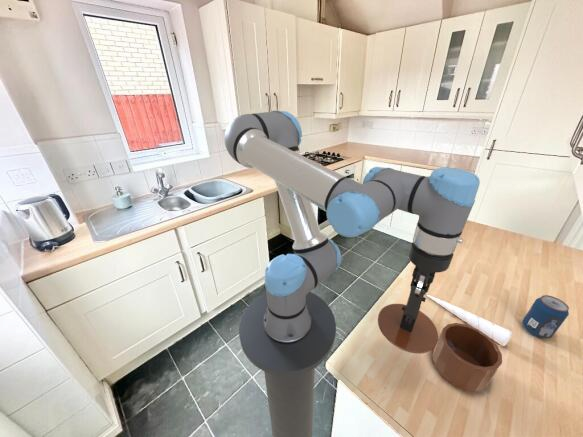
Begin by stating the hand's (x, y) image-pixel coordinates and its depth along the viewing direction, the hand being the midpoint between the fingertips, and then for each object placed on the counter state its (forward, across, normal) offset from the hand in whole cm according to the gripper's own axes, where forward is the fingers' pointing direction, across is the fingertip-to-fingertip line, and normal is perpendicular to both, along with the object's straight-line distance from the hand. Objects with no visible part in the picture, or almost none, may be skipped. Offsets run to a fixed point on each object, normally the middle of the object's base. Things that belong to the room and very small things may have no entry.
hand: (407, 323), depth 60 cm
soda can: (+15, +34, -32) cm, 49 cm away
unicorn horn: (+15, +26, -14) cm, 33 cm away
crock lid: (+1, 0, 0) cm, 1 cm away
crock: (+15, +8, -14) cm, 22 cm away
